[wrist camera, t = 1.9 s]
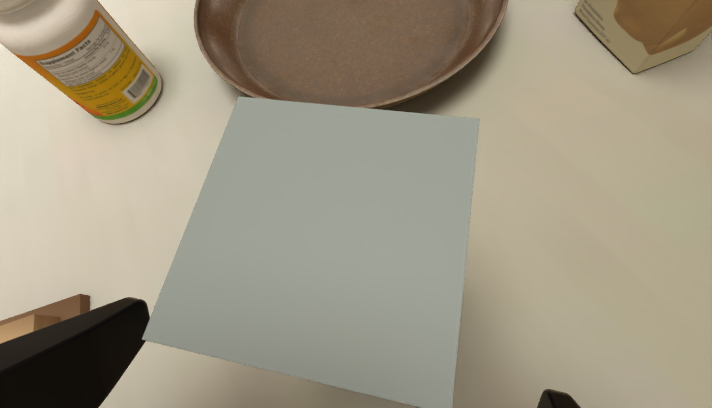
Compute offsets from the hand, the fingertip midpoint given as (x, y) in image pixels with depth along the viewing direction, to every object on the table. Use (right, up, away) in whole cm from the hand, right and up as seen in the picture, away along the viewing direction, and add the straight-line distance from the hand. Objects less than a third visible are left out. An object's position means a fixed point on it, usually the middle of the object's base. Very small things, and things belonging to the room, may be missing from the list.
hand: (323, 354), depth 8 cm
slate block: (+2, -2, +10) cm, 11 cm away
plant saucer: (0, +17, +19) cm, 25 cm away
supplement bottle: (-16, +11, +19) cm, 27 cm away
